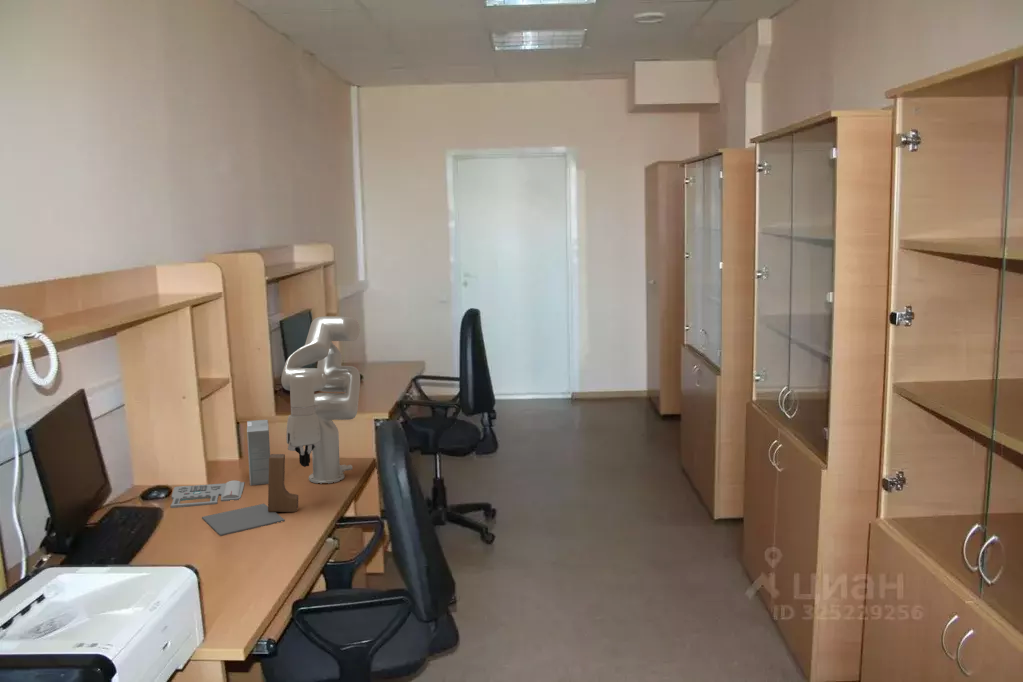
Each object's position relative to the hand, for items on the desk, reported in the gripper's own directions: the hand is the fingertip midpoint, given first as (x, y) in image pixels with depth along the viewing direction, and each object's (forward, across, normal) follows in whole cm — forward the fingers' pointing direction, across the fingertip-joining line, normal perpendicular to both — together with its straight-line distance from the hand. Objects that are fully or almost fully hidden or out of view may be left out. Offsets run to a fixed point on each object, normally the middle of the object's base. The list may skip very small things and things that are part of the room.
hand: (304, 465), depth 266 cm
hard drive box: (+14, +1, -37) cm, 40 cm away
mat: (+14, +21, 0) cm, 25 cm away
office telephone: (+14, +22, -30) cm, 41 cm away
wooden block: (+14, +8, 0) cm, 16 cm away
